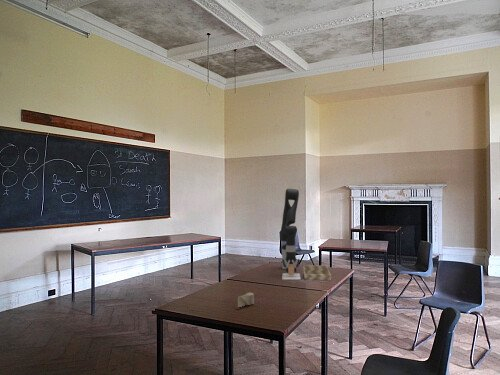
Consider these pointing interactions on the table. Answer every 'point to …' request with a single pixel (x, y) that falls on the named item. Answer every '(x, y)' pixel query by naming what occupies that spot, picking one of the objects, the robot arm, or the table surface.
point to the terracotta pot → (291, 269)
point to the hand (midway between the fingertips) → (291, 272)
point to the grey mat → (291, 276)
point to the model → (246, 299)
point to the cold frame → (316, 273)
